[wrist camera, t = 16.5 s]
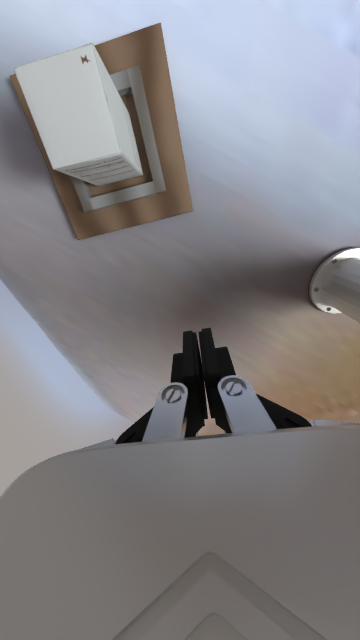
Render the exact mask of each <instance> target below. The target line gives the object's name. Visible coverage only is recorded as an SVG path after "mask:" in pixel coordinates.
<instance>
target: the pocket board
mask: <svg viewBox="0 0 360 640" xmlns="http://www.w3.org/2000/svg"><path fill="white" fill-rule="evenodd" d="M95 48H96V50H97V52H98V54H99V56H100V58H101V60H102V62H103V64H104V66H105V68H106V70H107V71H108V73H109V75H110V77H111V79H112V81H113V83H114V85H115V87H116V89H117V91H118V93H119V95H120V97H121V99H122V101H123V103H124V105H125V107H126V109H127V111H128V113H129V115H130V119H131V123H132V128H133V132H134V136H135V141H136V145H137V149H138V154H139V158H140V162H141V167H142V172H143V175H142V176H138V177H134V178H130V179H126V180H122V181H117V182H113V183H109V184H105V185H101V186H97V185H94V184H91V183H89V182H86V181H83V180H81V179H78V178H75V177H73V176H70V175H67V174H65V173H62V172H59V171H57V170H54V169H53V168H52V165H51V163H50V160H49V158H48V155H47V153H46V150H45V148H44V145H43V143H42V140H41V137H40V135H39V132H38V130H37V127H36V125H35V122H34V120H33V117H32V115H31V112H30V110H29V107H28V104H27V102H26V99H25V97H24V94H23V92H22V89H21V87H20V84H19V81H18V79H17V76H16V74H14V75H11V76H10V79H11V81H12V83H13V86H14V88H15V91H16V93H17V95H18V98H19V100H20V102H21V105H22V107H23V110H24V112H25V114H26V117H27V119H28V122H29V124H30V126H31V129H32V131H33V133H34V136H35V138H36V141H37V143H38V145H39V148H40V150H41V153H42V155H43V157H44V160H45V162H46V164H47V167H48V169H49V172H50V174H51V176H52V179H53V181H54V183H55V186H56V188H57V191H58V193H59V195H60V198H61V200H62V203H63V205H64V207H65V210H66V212H67V214H68V217H69V219H70V222H71V224H72V226H73V229H74V231H75V234H76V236H77V238H78V240H80V239H84V238H88V237H92V236H96V235H100V234H104V233H108V232H112V231H116V230H120V229H124V228H128V227H132V226H136V225H140V224H144V223H148V222H152V221H156V220H160V219H164V218H168V217H172V216H176V215H180V214H184V213H188V212H192V211H193V210H192V204H191V198H190V192H189V186H188V180H187V175H186V169H185V163H184V157H183V151H182V145H181V139H180V133H179V128H178V122H177V116H176V110H175V104H174V98H173V92H172V86H171V80H170V75H169V69H168V63H167V57H166V51H165V45H164V39H163V33H162V28H161V23H158V24H155V25H152V26H149V27H146V28H144V29H141V30H138V31H135V32H132V33H130V34H127V35H124V36H121V37H118V38H115V39H113V40H110V41H107V42H104V43H101V44H98V45H96V46H95Z"/></svg>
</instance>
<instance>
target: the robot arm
mask: <svg viewBox="0 0 360 640" xmlns="http://www.w3.org/2000/svg"><path fill="white" fill-rule="evenodd" d="M309 294H310V298H311V301H312V302H313V304H314V305H315V306H316V307H317V308H319V309H320V310H322V311H324V312H327V313H332V314H335V313H344V314H345V315H347V316H349V317H351V318H352V319H354V320H356V321H357V322H359V323H360V248H359V247H357V248H348V249H344V250H342V251H339V252H337V253H335V254H333V255H332V256H330V257H329V258H328V259H326V260H325V261H324V262H323V263H322V264H321V265H320V266H319V267H318V269H317V270H316V272H315V273H314V275H313V277H312V279H311V283H310V288H309ZM199 340H200V350H201V357H200V351H199V346H198V340H197V335H196V332H194V333H193V332H192V331H186V332H183V353H178V354H174V355H173V363H172V373H171V383H170V384H167V385H166V386H164V387H163V388H162V389H161V390H160V392H159V393H158V396H157V399H156V402H155V405H154V407H153V408H152V409H151V410H150V411H148V412H147V413H146V414H145V415H144V416H142V417H141V418H140V419H139V420H138V421H137V422H135V423H134V424H133V425H132V426H131V427H130V428H128V429H127V430H126V431H125V432H124V433H123V434H122V435H121V436H120V437H119V438H118V440H115V441H114V439H110V440H107V441H103V442H100V443H98V444H94V445H91V446H88V447H85V448H82V449H79V450H74V451H70V452H66V453H63V454H60V455H57V456H54V457H51V458H49V459H47V460H45V461H43V462H41V463H39V464H37V465H35V466H33V467H31V468H30V469H28V470H27V471H25V472H24V473H23V474H21V475H20V476H19V477H18V478H17V479H16V480H15V481H14V482H13V483H12V484H11V485H10V486H9V487H8V488H7V489H6V490H5V492H4V493H3V494H2V496H1V497H0V640H360V424H358V423H348V422H338V421H328V420H318V419H314V422H310V421H307V420H306V419H305V418H303V417H301V416H300V415H298V414H296V413H294V412H292V411H290V410H288V409H286V408H284V407H282V406H280V405H278V404H276V403H274V402H272V401H270V400H268V399H266V398H264V397H262V396H260V395H257V394H255V392H254V390H253V389H252V387H251V385H250V384H249V382H248V381H247V380H246V379H244V378H243V377H240V376H236V374H235V370H234V367H233V364H232V361H231V358H230V355H229V351H228V348H227V347H221V348H215V346H214V342H213V337H212V332H211V328H205V329H202V331H201V332H199ZM201 360H202V362H201ZM204 382H205V386H204ZM205 388H206V393H207V399H208V404H209V409H210V415H211V418H215V421H216V425H218V426H219V427H220V428H222V429H223V430H224V432H225V434H218V435H207V436H198V431H199V430H200V429H201V428H202V427H203V426H205V424H204V419H208V414H207V405H206V395H205Z"/></svg>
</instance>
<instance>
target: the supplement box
mask: <svg viewBox="0 0 360 640" xmlns="http://www.w3.org/2000/svg"><path fill="white" fill-rule="evenodd" d="M14 71H15V74H16V76H17V79H18V81H19V84H20V87H21V89H22V92H23V94H24V97H25V99H26V102H27V104H28V107H29V110H30V112H31V115H32V117H33V120H34V122H35V125H36V127H37V130H38V132H39V135H40V137H41V140H42V143H43V145H44V148H45V150H46V153H47V155H48V158H49V160H50V163H51V165H52V168H53V169H54V170H57V171H59V172H62V173H65V174H67V175H70V176H73V177H75V178H78V179H81V180H83V181H86V182H89V183H91V184H94V185H97V186H101V185H105V184H109V183H113V182H117V181H122V180H126V179H130V178H134V177H138V176H142V175H143V172H142V167H141V162H140V158H139V154H138V149H137V145H136V141H135V136H134V132H133V128H132V123H131V119H130V115H129V113H128V111H127V109H126V107H125V105H124V103H123V101H122V99H121V97H120V95H119V93H118V91H117V89H116V87H115V85H114V83H113V81H112V79H111V77H110V75H109V73H108V71H107V70H106V68H105V66H104V64H103V62H102V60H101V58H100V56H99V54H98V52H97V50H96V48H95V46H94V44H93V43H90V44H87V45H85V46H82V47H79V48H76V49H73V50H69V51H66V52H63V53H60V54H57V55H53V56H50V57H47V58H44V59H41V60H38V61H35V62H32V63H28V64H25V65H22V66H19V67H17V68H15V69H14Z"/></svg>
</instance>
